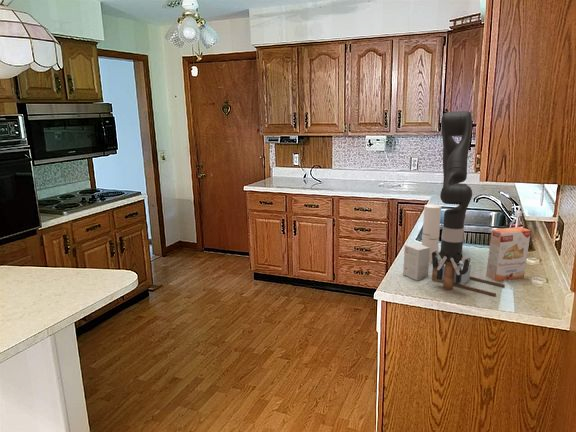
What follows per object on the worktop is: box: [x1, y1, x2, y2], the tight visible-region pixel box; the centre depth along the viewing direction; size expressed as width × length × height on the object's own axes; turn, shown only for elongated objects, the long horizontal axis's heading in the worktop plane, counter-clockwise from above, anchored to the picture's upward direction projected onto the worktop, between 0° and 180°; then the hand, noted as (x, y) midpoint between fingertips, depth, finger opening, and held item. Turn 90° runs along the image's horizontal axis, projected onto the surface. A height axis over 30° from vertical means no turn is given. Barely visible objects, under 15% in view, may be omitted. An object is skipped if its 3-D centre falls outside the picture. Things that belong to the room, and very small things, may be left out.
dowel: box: [442, 261, 455, 291], centre depth 168 cm, size 3×3×12 cm
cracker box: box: [485, 226, 531, 282], centre depth 178 cm, size 14×6×21 cm, turn 105°
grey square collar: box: [441, 261, 472, 285], centre depth 176 cm, size 9×9×6 cm
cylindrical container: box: [421, 204, 442, 264], centre depth 200 cm, size 7×7×25 cm
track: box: [431, 260, 506, 297], centre depth 173 cm, size 11×24×7 cm, turn 49°
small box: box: [402, 242, 430, 281], centre depth 182 cm, size 8×6×13 cm
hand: (448, 280), depth 168 cm, fingers open, 6 cm apart
